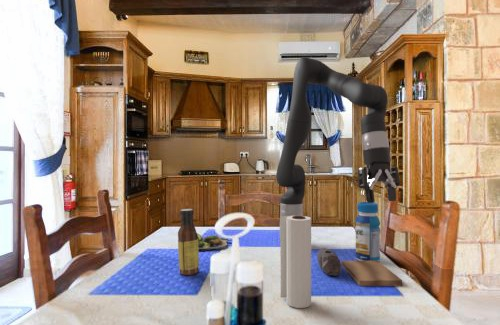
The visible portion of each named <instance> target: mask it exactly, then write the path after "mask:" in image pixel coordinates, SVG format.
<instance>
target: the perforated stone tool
mask: <svg viewBox="0 0 500 325" xmlns="http://www.w3.org/2000/svg"><path fill="white" fill-rule="evenodd" d="M316 260H317V264H318V266H319V268H320V269H321V270H322V272H323V273H325V274H326V275H327V276H339V275H340V274H341V272H342V265H341V260H340V258H339V256H338V254H336V252H334V251H333V250H331V249H329V248H326V247H322V248H320V249H319V250H318V252H317V255H316Z"/></svg>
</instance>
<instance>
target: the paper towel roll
mask: <svg viewBox="0 0 500 325" xmlns="http://www.w3.org/2000/svg"><path fill="white" fill-rule="evenodd" d="M280 226H281V244H280V298H281V299H282V298H284V299H285V298H286V303H287V305H288V306H290V307H293V308H297V309H305V308H308V307H310V306H311V305H312V218H311V217H310V216H306V215H305V216H304V215H303V216H280V217H279V227H280Z"/></svg>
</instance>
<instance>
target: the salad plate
mask: <svg viewBox="0 0 500 325" xmlns="http://www.w3.org/2000/svg"><path fill="white" fill-rule="evenodd" d="M197 235H198V251H199V250H208V251H212V250H211V249H216V250H221V249H220V248H222V249H224V248H226V247H227V245H228V243H227V242H229V241H231V240H228V239H229V238H226V239H225V238H224V237H221V236H218V235H213V234H211V235H208V236H205V237H204V236H202V235H201V234H199V233H198V232H197ZM213 245H220V246H213ZM210 246H212V247H210ZM199 252H200V251H199Z"/></svg>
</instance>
